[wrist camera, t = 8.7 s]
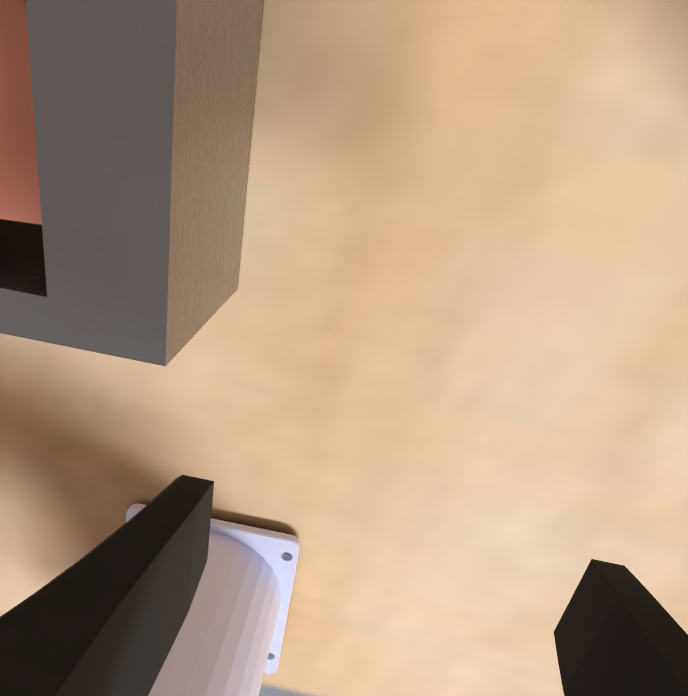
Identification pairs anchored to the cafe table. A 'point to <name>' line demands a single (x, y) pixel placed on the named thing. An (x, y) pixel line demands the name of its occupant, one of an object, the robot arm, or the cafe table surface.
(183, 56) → the box with rectangular hole
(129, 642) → the robot arm
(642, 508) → the cafe table surface
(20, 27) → the tall pink block
